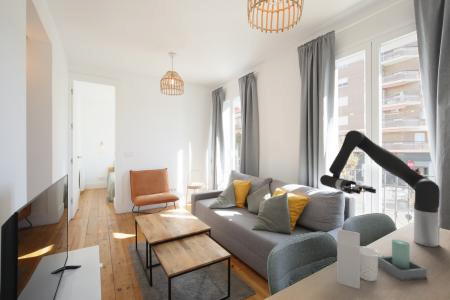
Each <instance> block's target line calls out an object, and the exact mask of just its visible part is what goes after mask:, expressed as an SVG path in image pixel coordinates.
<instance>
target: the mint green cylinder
mask: <svg viewBox="0 0 450 300" xmlns="http://www.w3.org/2000/svg"><path fill="white" fill-rule="evenodd" d="M410 245H411V244H410V243H409V242H407V241H405V240H402V239H392V240H391V256H392V265H394V266H395V267H397V268H399V269H400V270H407V269H410V261H411V260H410V259H411V257H410V255H411V254H410V249H411V247H410Z"/></svg>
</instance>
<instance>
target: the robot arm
mask: <svg viewBox="0 0 450 300" xmlns="http://www.w3.org/2000/svg"><path fill="white" fill-rule="evenodd" d="M356 148H358V149H360V150H361V151H363V152H364V153H365V154H366V155H367V156H368V157H369V158H370V159H371V160H372V161H373V162H374V163H376V164H377V165H378V166H380V167H381V168H382V169H383V170H385V171H386V172H388V173H389V174H392V175H393V176H394V177H396V178H399V179H401V180H402V181H403V182H404V183H406V184H407V185H408V186H409V187H410V188H411V189H413V191H414V204H413V241H414V242H415V243H416V244H418V245H421V246H425V247H431V248H432V247H433V248H434V247H435V248H436V247H438V246H440V239H441V237H440V235H441V233H440V230H441V229H440V228H441V227H440V226H439V207H440V193H441V192H440V186H439V185H438V184H437V183H436V181H433V180H431V179H430V178H427V177H425V176H424V175H422V174H420V173H418V172H417V171H415V170H414V169H413V168H412V167H410V166H409V165H408V164H407V163H406V162H404V160H402V159H401V158H399V157H398V156H397V155H396V154H394V153H393V152H391V151H389V150H388V149H387V148H385V147H383V146H380V145H379V144H377V143H375V142H374V141H372V140H371V139H370V138H369V137H368V136H366V134H364V132H362V131H361V130H358V129H353V130H349V131H347V133H345V136H344V140H343V143H342V145H341V148H339V149H340V150H339V151H338V153H337V155H336V157H335V158H334V160H333V161H332V163H331V165H330V167H329V169H328V172H330V173H331V174H332V175H328V174H323V175H321V177H320V179H319V182H320V184H322V185H323V186H326V187H328V188H331V189H334V190H338V191H340V192H343V193H345V194H346V193H347V194H349V195H351V194H352V195H353V194H357V195H361V193H371V194H377V190H376V188H374V187H373V186H370V185H366V184H363V185H361V184H357V182H356V181H355V180H352V179H348V178H340V177H341V174H342V173H343V170H344V168H345V167H346V165H347V162H348V161H349V159H350V156H351V154H352V153H353V151H354V150H355V149H356Z"/></svg>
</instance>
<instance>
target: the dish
mask: <svg viewBox="0 0 450 300" xmlns="http://www.w3.org/2000/svg"><path fill="white" fill-rule="evenodd" d="M379 267H380V268H381V269H382V270H384V271H385V272H387V273H389V275H392V277H395V279H398V280H399V281H401V282H403V281H404V282H405V281H411V280H412V281H414V280H425V279H426V280H427V276H428V275H427V272H428V270H427V268H425V267H423V266H421V265H419V264H417V263H416V262H414V261H412V260H410V269H407V270H400V269H399V268H397V267H395V266H394V265H392V255H387V256H379V257H378V268H379Z"/></svg>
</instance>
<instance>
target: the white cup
mask: <svg viewBox="0 0 450 300" xmlns="http://www.w3.org/2000/svg"><path fill="white" fill-rule="evenodd" d="M379 254H380V253H379V251H378V250H376V249H374V248H371V247H368V246H364V245H363V246H361V245H360V279H362V280H364V281H369V282H374V281H375V282H376V281H377V278H378V271H379V266H378V257H380V256H379Z"/></svg>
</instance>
